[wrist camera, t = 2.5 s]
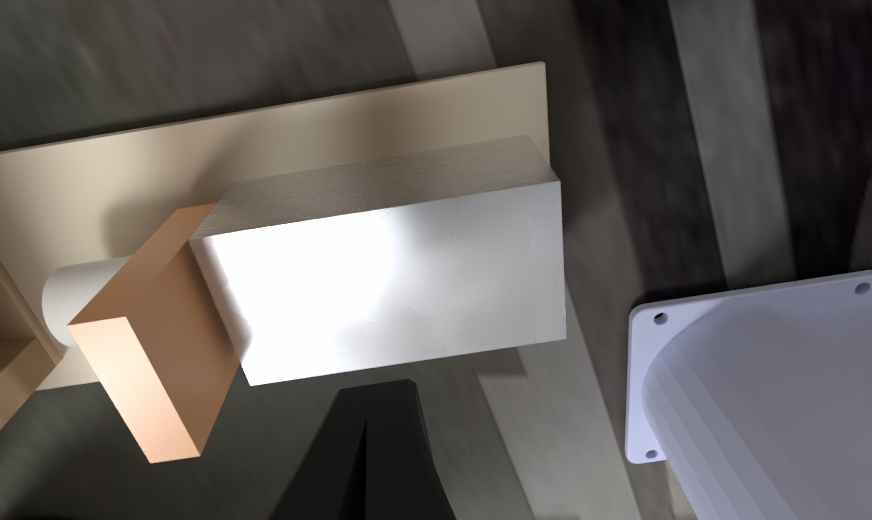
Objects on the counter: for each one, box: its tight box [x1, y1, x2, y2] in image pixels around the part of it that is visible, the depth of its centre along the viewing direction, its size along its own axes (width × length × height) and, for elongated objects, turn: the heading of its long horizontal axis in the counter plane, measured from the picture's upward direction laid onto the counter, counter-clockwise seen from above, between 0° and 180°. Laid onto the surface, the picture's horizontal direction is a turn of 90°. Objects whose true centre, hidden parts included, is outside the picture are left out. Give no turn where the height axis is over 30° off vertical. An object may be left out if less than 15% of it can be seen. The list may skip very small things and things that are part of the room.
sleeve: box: [188, 135, 567, 386], centre depth 15 cm, size 9×5×4 cm, turn 99°
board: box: [0, 61, 550, 391], centre depth 17 cm, size 22×8×1 cm, turn 99°
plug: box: [42, 203, 240, 463], centre depth 14 cm, size 12×4×6 cm, turn 99°
